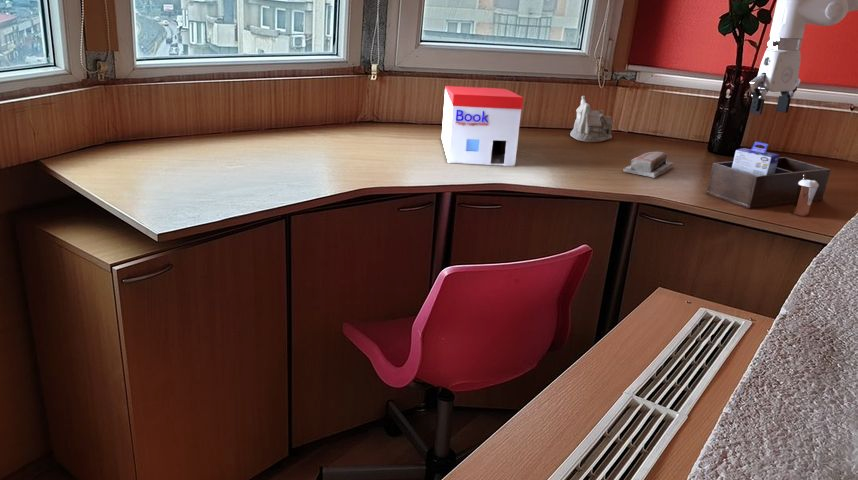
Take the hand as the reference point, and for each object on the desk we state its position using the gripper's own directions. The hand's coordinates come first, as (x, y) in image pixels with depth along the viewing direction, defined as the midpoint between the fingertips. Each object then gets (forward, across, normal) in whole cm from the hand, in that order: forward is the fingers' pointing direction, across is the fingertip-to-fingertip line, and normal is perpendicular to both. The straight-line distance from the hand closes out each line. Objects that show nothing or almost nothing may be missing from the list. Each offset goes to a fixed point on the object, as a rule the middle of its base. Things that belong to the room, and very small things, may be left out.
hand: (768, 112), depth 188 cm
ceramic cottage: (+23, +8, +77) cm, 81 cm away
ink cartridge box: (+23, -1, 0) cm, 23 cm away
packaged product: (+24, -6, +33) cm, 41 cm away
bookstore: (+23, -47, +68) cm, 86 cm away
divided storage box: (+24, +6, 0) cm, 24 cm away
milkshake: (+24, +2, -14) cm, 28 cm away
